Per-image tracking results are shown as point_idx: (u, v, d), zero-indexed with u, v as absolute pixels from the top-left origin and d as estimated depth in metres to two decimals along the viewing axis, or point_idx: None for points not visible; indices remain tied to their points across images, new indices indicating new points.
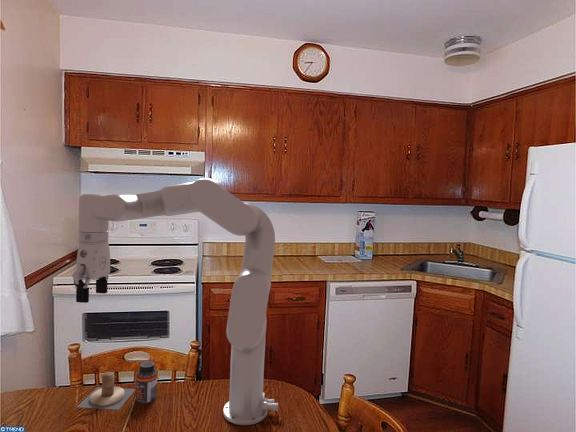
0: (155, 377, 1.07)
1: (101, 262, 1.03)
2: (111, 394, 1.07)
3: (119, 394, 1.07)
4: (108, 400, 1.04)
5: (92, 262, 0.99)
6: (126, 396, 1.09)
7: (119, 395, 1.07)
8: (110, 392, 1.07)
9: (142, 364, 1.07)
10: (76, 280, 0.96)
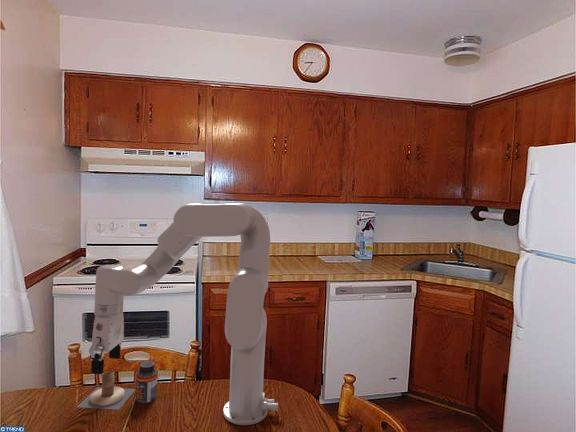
0: (155, 377, 1.07)
1: (116, 332, 1.06)
2: (111, 394, 1.07)
3: (119, 394, 1.07)
4: (108, 400, 1.04)
5: (108, 335, 1.02)
6: (126, 396, 1.09)
7: (119, 395, 1.07)
8: (110, 392, 1.07)
9: (142, 364, 1.07)
10: (92, 354, 0.99)
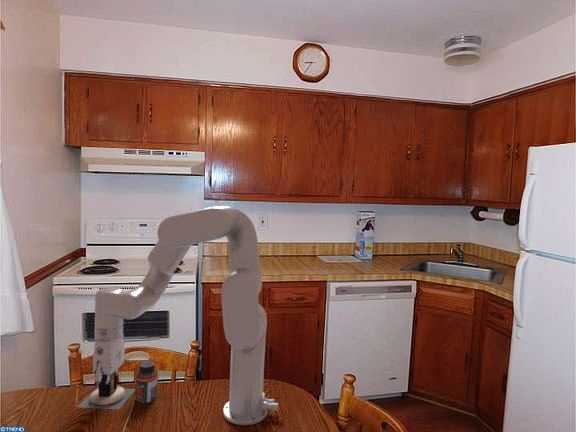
0: (155, 377, 1.07)
1: (116, 355, 1.06)
2: (111, 393, 1.07)
3: (119, 393, 1.07)
4: (108, 399, 1.04)
5: (108, 359, 1.02)
6: (126, 396, 1.09)
7: (119, 394, 1.07)
8: (110, 391, 1.07)
9: (142, 364, 1.07)
10: (99, 381, 1.02)
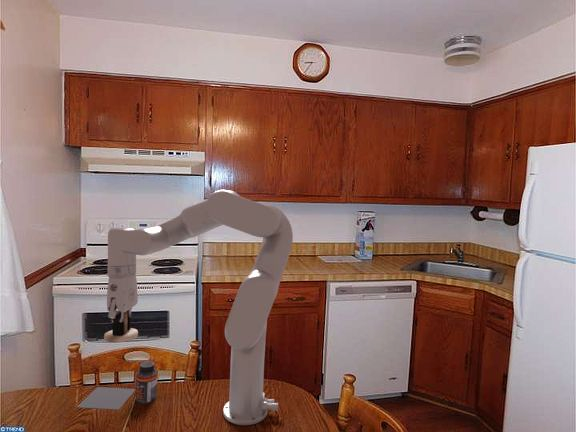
0: (155, 377, 1.07)
1: (130, 294, 1.06)
2: (125, 332, 1.06)
3: (132, 333, 1.07)
4: (122, 337, 1.04)
5: (122, 295, 1.02)
6: (126, 396, 1.09)
7: (133, 333, 1.07)
8: (124, 330, 1.06)
9: (142, 364, 1.07)
10: (113, 318, 1.01)
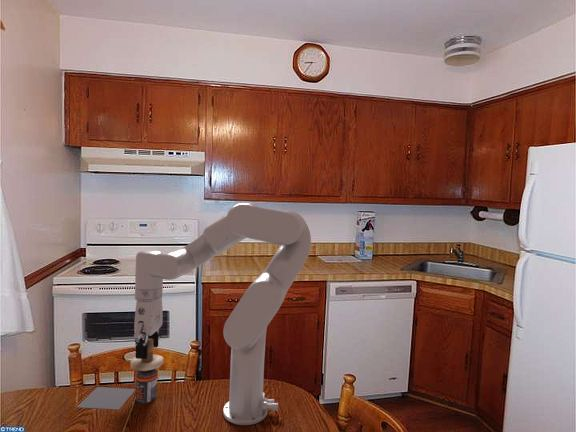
0: (155, 377, 1.07)
1: (156, 317, 1.06)
2: (151, 360, 1.07)
3: (158, 361, 1.08)
4: (149, 365, 1.04)
5: (150, 319, 1.02)
6: (126, 396, 1.09)
7: (159, 361, 1.07)
8: (150, 358, 1.07)
9: None
10: (137, 340, 1.00)
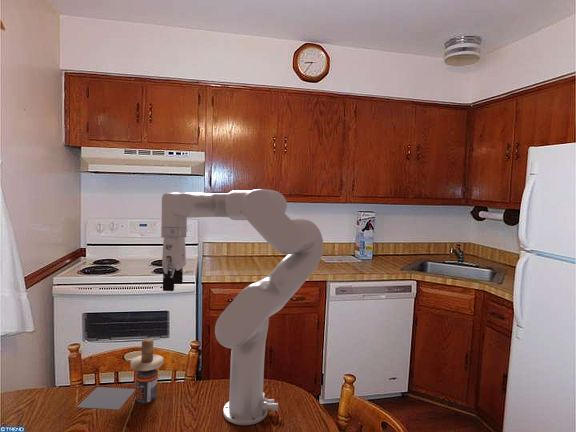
0: (155, 377, 1.07)
1: (182, 254, 1.13)
2: (151, 360, 1.07)
3: (158, 361, 1.08)
4: (149, 366, 1.04)
5: (177, 254, 1.09)
6: (126, 396, 1.09)
7: (159, 361, 1.07)
8: (150, 358, 1.07)
9: None
10: (166, 270, 1.06)
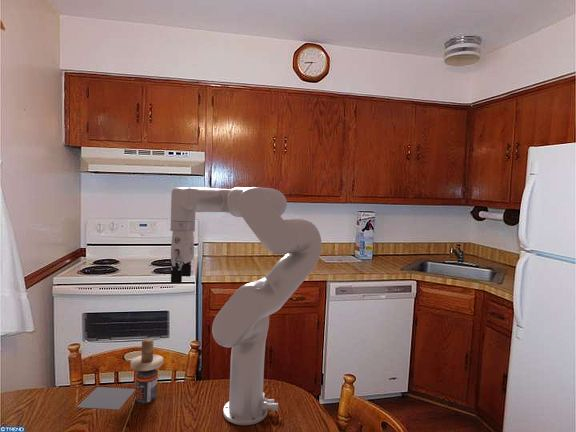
0: (155, 377, 1.07)
1: (190, 248, 1.16)
2: (151, 360, 1.07)
3: (158, 361, 1.08)
4: (149, 366, 1.04)
5: (185, 247, 1.12)
6: (126, 396, 1.09)
7: (159, 361, 1.07)
8: (150, 358, 1.07)
9: None
10: (174, 263, 1.09)
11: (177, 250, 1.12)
